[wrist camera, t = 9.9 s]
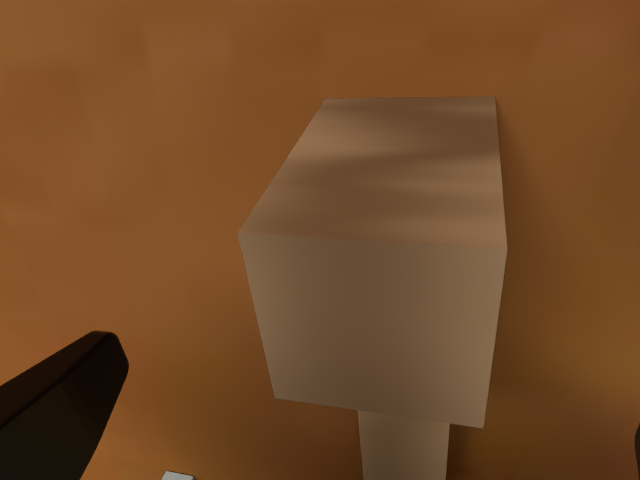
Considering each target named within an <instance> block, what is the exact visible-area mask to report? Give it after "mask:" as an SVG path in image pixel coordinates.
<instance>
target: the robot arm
mask: <svg viewBox="0 0 640 480" xmlns="http://www.w3.org/2000/svg"><path fill="white" fill-rule="evenodd" d="M128 370H129V363H128V359H127V357H126V355H125V353H124V350H123V348H122V346H121V343H120V341H119V339H118V337H117V335H116V334H114V333H112V332H106V331H92V332H90V333H88V334H86V335H85V336H83V337H81V338H80V339H78V340H76V341H75V342H73V343H71V344H70V345H68V346H66V347H65V348H63V349H61V350H60V351H58V352H56V353H55V354H53V355H51V356H50V357H48V358H46V359H45V360H43V361H41V362H40V363H38V364H36V365H35V366H33V367H31V368H30V369H28V370H26V371H25V372H23V373H21V374H20V375H18V376H16V377H15V378H13V379H11V380H9V381H8V382H6V383H4V384H3V385H1V386H0V480H80V479H81V477H82V475H83V473H84V471H85V469H86V467H87V465H88V464H89V462H90V460H91V458H92V456H93V454H94V452H95V450H96V448H97V446H98V443H99V441H100V439H101V437H102V434H103V432H104V430H105V427H106V425H107V422H108V420H109V418H110V415H111V413H112V410H113V408H114V406H115V403H116V401H117V398H118V396H119V394H120V391H121V389H122V386H123V384H124V382H125V379H126V377H127V374H128ZM635 452H636V459H637V466H638V473H639V480H640V424H639V426H638V428H637V431H636V435H635Z"/></svg>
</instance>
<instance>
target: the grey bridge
mask: <svg viewBox="0 0 640 480" xmlns="http://www.w3.org/2000/svg"><path fill="white" fill-rule="evenodd" d="M162 480H194V477H193V476H189V475H184V474H179V473H174V472H169V471H166V473H165V474H164V476H163V478H162Z"/></svg>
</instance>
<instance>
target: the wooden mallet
mask: <svg viewBox="0 0 640 480" xmlns="http://www.w3.org/2000/svg"><path fill="white" fill-rule="evenodd" d="M238 237H239V241H240V246H241V250H242V255H243V259H244V264H245V268H246V272H247V277H248V281H249V286H250V290H251V295H252V299H253V304H254V308H255V312H256V317H257V321H258V326H259V330H260V335H261V339H262V344H263V348H264V352H265V357H266V361H267V366H268V370H269V375H270V379H271V384H272V388H273V392H274V397H275V398H276V399H283V400H290V401H297V402H304V403H311V404H317V405H324V406H331V407H338V408H345V409H352V410H357V412H358V424H359V435H360V447H361V458H362V470H363V480H446V468H447V455H448V441H449V427H450V424H456V425H463V426H470V427H477V428H484V420H485V413H486V405H487V398H488V390H489V383H490V375H491V368H492V360H493V353H494V345H495V338H496V331H497V323H498V316H499V308H500V301H501V293H502V286H503V278H504V271H505V263H506V256H507V239H506V226H505V214H504V201H503V189H502V176H501V164H500V151H499V139H498V126H497V113H496V101H495V97H417V98H326V99H325V100H324V102H323V103H322V105H321V107H320V108H319V110H318V111H317V113H316V114H315V116H314V117H313V119H312V120H311V122H310V123H309V125H308V126H307V128H306V130H305V131H304V133H303V134H302V136H301V137H300V139H299V140H298V142H297V143H296V145H295V146H294V148H293V149H292V151H291V152H290V154H289V156H288V157H287V159H286V160H285V162H284V163H283V165H282V166H281V168H280V169H279V171H278V172H277V174H276V175H275V177H274V178H273V180H272V182H271V183H270V185H269V186H268V188H267V189H266V191H265V192H264V194H263V195H262V197H261V198H260V200H259V201H258V203H257V204H256V206H255V208H254V209H253V211H252V212H251V214H250V215H249V217H248V218H247V220H246V221H245V223H244V224H243V226H242V227H241V229H240V231H239V232H238Z"/></svg>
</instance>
